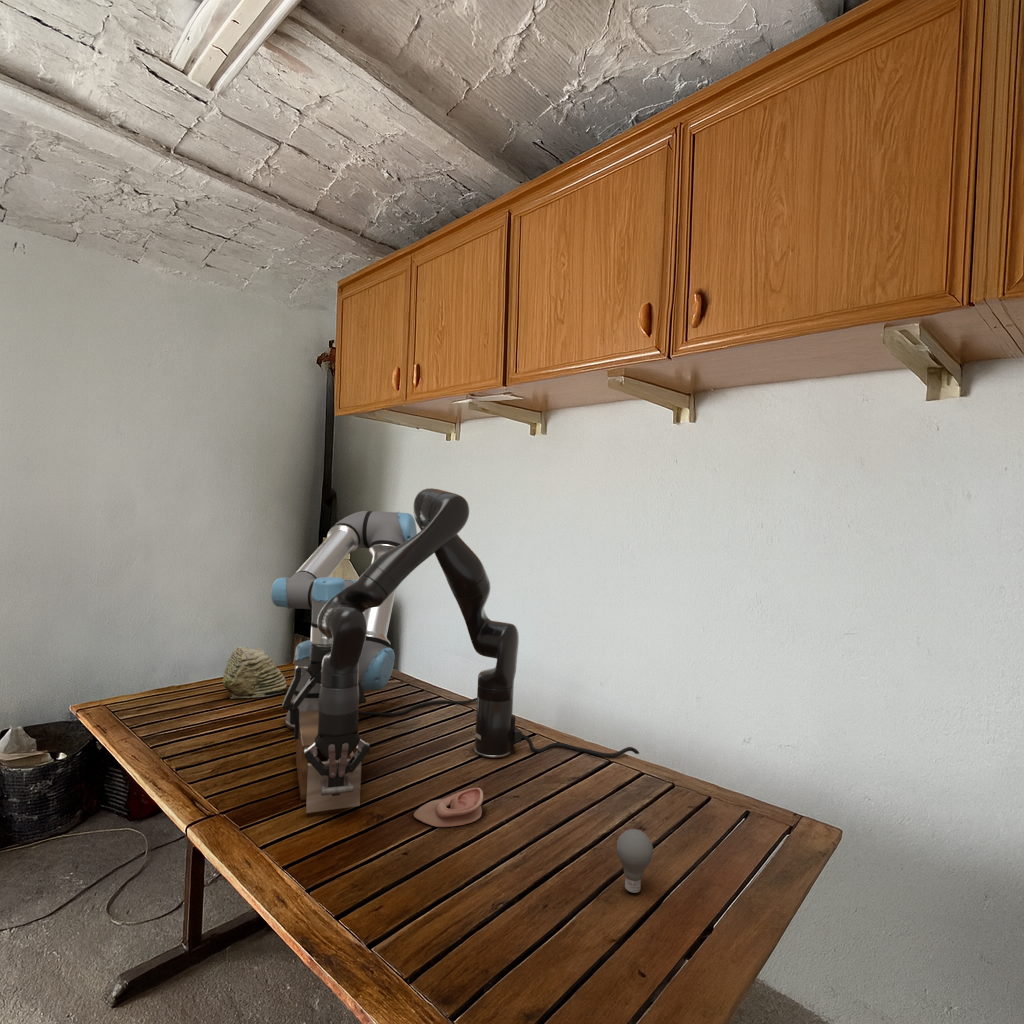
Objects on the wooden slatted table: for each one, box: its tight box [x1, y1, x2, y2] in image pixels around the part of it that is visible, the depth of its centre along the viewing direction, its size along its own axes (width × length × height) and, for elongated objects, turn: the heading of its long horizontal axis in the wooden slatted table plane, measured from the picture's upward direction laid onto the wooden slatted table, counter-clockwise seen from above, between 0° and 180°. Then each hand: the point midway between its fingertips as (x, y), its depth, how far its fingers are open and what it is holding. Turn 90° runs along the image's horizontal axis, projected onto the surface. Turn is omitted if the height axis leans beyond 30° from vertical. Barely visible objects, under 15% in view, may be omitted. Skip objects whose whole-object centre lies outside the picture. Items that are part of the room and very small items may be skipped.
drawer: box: [305, 749, 362, 814], centre depth 133 cm, size 26×10×10 cm, turn 22°
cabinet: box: [295, 710, 358, 801], centre depth 144 cm, size 22×12×12 cm, turn 22°
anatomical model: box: [413, 787, 484, 828], centre depth 129 cm, size 13×4×12 cm
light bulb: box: [615, 828, 654, 894], centre depth 106 cm, size 6×6×10 cm
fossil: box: [222, 646, 288, 699], centre depth 198 cm, size 9×18×15 cm, turn 132°
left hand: (323, 735), depth 150 cm, fingers closed on cabinet, 11 cm apart
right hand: (335, 793), depth 124 cm, fingers closed
